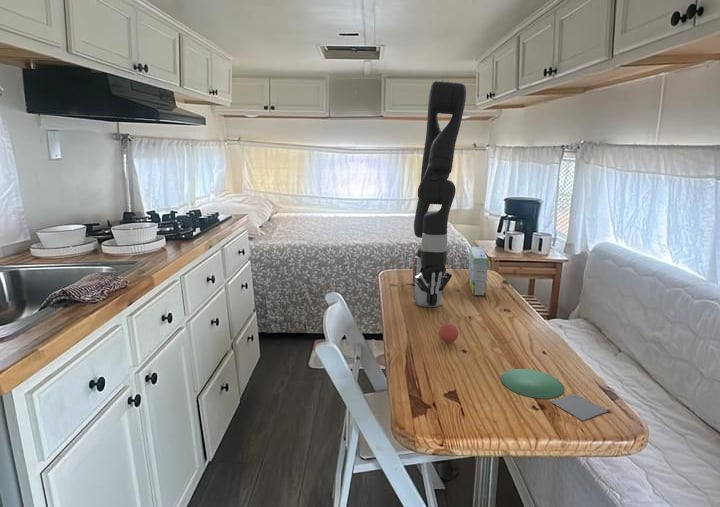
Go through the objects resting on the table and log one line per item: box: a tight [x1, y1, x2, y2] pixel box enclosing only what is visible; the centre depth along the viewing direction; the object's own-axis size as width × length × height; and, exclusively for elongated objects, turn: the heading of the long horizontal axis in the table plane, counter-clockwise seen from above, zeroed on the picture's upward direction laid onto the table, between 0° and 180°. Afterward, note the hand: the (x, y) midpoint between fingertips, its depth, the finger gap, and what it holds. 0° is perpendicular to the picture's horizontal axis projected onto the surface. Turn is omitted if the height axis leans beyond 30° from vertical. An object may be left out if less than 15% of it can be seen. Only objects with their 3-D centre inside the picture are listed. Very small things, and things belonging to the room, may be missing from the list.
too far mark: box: [550, 393, 609, 422], centre depth 98 cm, size 8×8×1 cm
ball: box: [438, 322, 459, 344], centre depth 131 cm, size 6×6×6 cm
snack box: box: [467, 246, 489, 297], centre depth 183 cm, size 21×6×15 cm, turn 172°
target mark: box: [500, 368, 565, 400], centre depth 108 cm, size 14×14×1 cm
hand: (431, 305), depth 137 cm, fingers closed
